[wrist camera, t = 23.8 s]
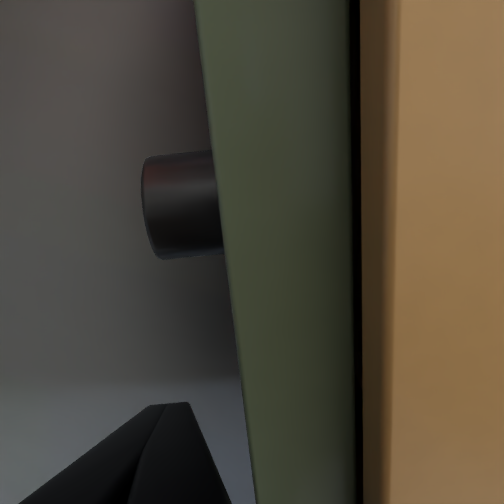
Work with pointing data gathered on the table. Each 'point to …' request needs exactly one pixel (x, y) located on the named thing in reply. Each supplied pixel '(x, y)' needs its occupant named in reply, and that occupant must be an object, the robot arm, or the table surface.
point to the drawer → (280, 228)
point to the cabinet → (431, 253)
